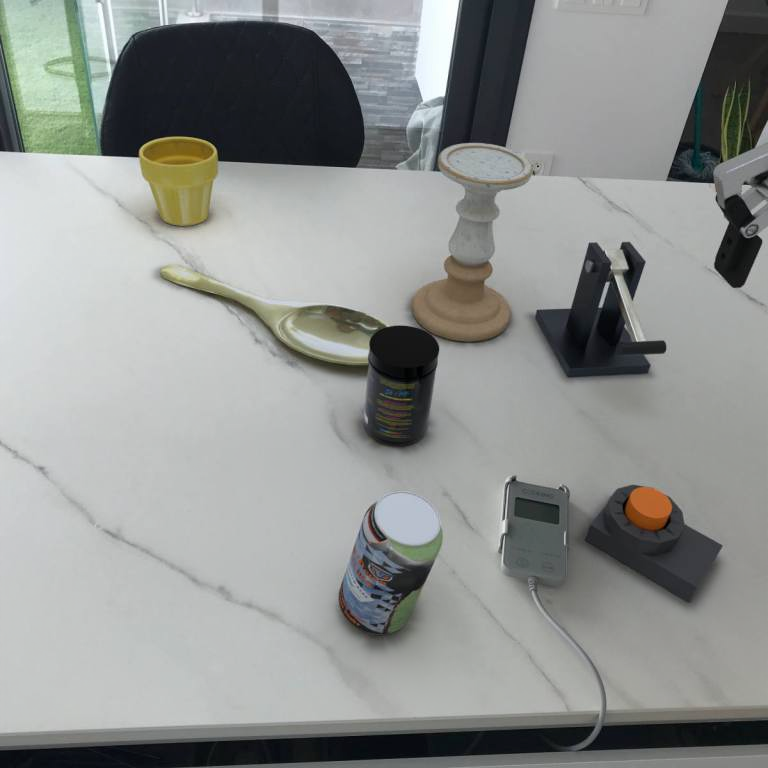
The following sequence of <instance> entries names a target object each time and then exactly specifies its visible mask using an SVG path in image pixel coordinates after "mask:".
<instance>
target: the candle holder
mask: <svg viewBox="0 0 768 768" xmlns="http://www.w3.org/2000/svg"><path fill="white" fill-rule="evenodd" d="M437 166H438V169H439V171H440V172H441V174H442V175H443V176H444V177H446V178H447V179H449V180H451V181H452V182H455V183H457V184H459V185H461V186H462V187H463V188H464V197H463V198H462V199H460V200H459V201H458V202H457V203H456V205H455V211H456V213H457V214H458V217H459V218H458V220H457V224H456V226H455V228H454V230H453V233H452V234H451V236H450V239H449V241H448V245H447V247H448V252H449V254H450V255H449V256H447V257H446V258H445V260H444V262H443V269H444V271H445V272H446V273H447V278H444V279H440V280H435V281H432V282H429V283H427V284H426V285H424V286H422V287H421V288H419V290H418V291H417V292H416V293H415V294H414V296H413V298H412V304H411V309H412V314H413V317H414V318H415V320H416V322H418V324H420V326H421V327H422V328H424V329H425V330H427V332H430V333H431V334H434V335H436V336H437V337H441V338H444V339H447V340H451V341H457V342H470V343H471V342H482V341H487V340H490V339H493V338H494V337H497V336H498V335H500V334H502V333H503V332H504V331H505V330H506V329H507V327H508V325H509V323H510V320H511V309H510V305H509V303H508V301H507V300H506V299H505V298H504V296H503V295H501V293H499V292H498V291H496V290H495V289H493V288H491V287H489V286H488V285H486V284H485V281H486V280H487V279H489V278H490V277H491V275H492V274H493V271H494V269H493V265H492V263H491V262H490V260H491V259H492V258H493V256H494V254H495V251H496V245H495V239H494V229H493V228H494V227H493V226H494V225H493V222H494V221H495V220H497V219H498V218H499V216H500V213H501V210H500V208H499V206H498V205H497V204H496V201H495V200H496V197H497V194H498V193H500V192H502V191H508V190H514V189H517V188H520V187H522V186H525V185H526V184H527V183H528V182H529V181H531V178H532V176H533V173H534V168H533V164H532V162H531V161H530V160H529V159H528V158H527V157H526V156H524V155H523V154H522V153H520V152H518V151H515V150H513V149H511V148H508V147H506V146H501V145H498V144H492V143H483V142H465V143H464V142H463V143H458V144H452V145H450V146H448V147H446V148H444V149H443V150H442V151H440V153H439V155H438V158H437Z"/></svg>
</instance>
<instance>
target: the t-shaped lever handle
mask: <svg viewBox="0 0 768 768" xmlns="http://www.w3.org/2000/svg"><path fill="white" fill-rule="evenodd" d="M603 251H604V253H605V254H606V255H607V257H608V258H609V259H610V261H611V262H612V264H611V267H610V270H609V274H608V277H607V280H606V283H610V282H612V285H613V288H614V291H615V294H616V297H617V300H618V303H619V305H620V308H621V311H622V314H623V317H624V320H625V325H626V330H627V331H628V333H629V335H630V338H631V341H632V342H619V343H618V344H617V346H616V351H617V354H618V355H619V356H627V355H644V356H646V355H647V356H648V355H663V354H665V353H666V352H667V343H666V341H665V340H664V339H659V340H647V339H646V336H645V333H644V330H643V328H642V325H641V322H640V319H639V316H638V314H637V310H636V308H635V305H634V301H633V302H632V299H631V296H630V293H629V291H628V288H627V285H626V282H625V279H624V276H625V275H626V273H627V272H628V270H629V267H628V264H627V261H626V258H625V255H624V253H623V250H622V249H620V248H619V249H604V250H603Z"/></svg>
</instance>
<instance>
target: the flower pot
mask: <svg viewBox="0 0 768 768" xmlns="http://www.w3.org/2000/svg"><path fill="white" fill-rule="evenodd" d="M218 156H219V155H218V150H217V148H216V147H215V146H214V145H213V144H212V143H211V142H209V141H207V140H205V139H204V140H203V139H201V138H197V137H189V136H167V137H160V138H156V139H153V140H150V141H148V142H146V143H145V144H143V145H142V146H141V147H140V148H139V150H138V158H139V166H140V172H141V176H142V177H143V179H144V180H145V181H146V182H148V185H149V188H150V190H151V193H152V196H153V198H154V202H155V205H156V207H157V210H158V213H159V215H160V218H161V219H162V220H163V221H164V222H165V223H167V224H169V225H174V226H178V227H188V226H189V227H190V226H195V225H198V224H201V223H203V222H204V221H206V220H207V218H208V216H209V211H210V205H211V198H212V191H213V186H214V180H215V179H216V178H217V177H218V175H219V157H218Z"/></svg>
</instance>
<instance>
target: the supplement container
mask: <svg viewBox="0 0 768 768" xmlns="http://www.w3.org/2000/svg"><path fill="white" fill-rule="evenodd" d="M439 356H440V343H439V342H438V340H437V339H436V338H435V336H433V335H432V333H429V331H426V330H423V329H422V328H419V327H415V326H411V325H403V324H402V325H390V326H389V327H386V328H383V329H380V330H379V331H377V332H376V333H374V334H373V336H372V337H371V339H370V342H369V353H368V365H367V371H366V372H367V373H366V387H365V397H364V398H365V399H364V400H365V401H364V410H363V424H364V427H365V429H366V431H367V433H368V434H369V435H370V436H371V437H372V438H373V439H375V440H377V442H380V443H382V444H385V445H389V446H395V447H401V446H408V445H411V444H414V443H415V442H417V441H418V440H420V439H422V438H423V436H424V435H425V434H426V433H427V431H428V426H429V421H430V414H431V407H432V399H433V395H434V394H433V393H434V387H435V380H436V373H437V368H438V365H439Z"/></svg>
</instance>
